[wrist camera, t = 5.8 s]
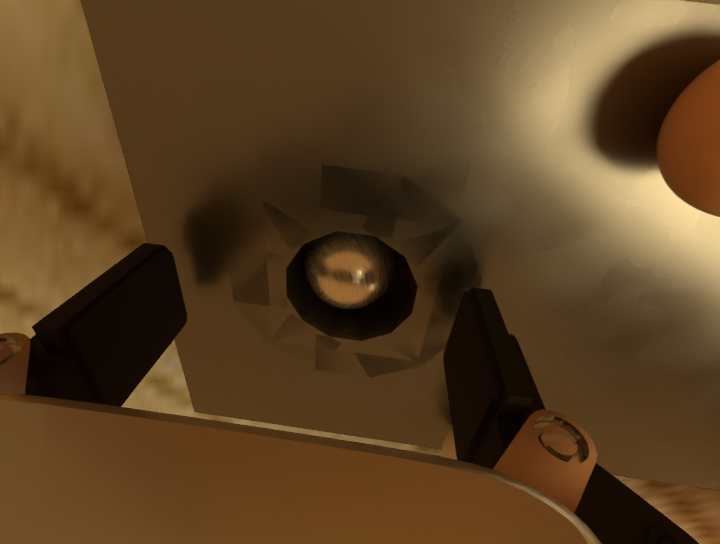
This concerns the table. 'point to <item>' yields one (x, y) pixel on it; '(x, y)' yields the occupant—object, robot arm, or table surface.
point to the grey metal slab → (428, 207)
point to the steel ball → (349, 269)
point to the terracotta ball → (694, 143)
